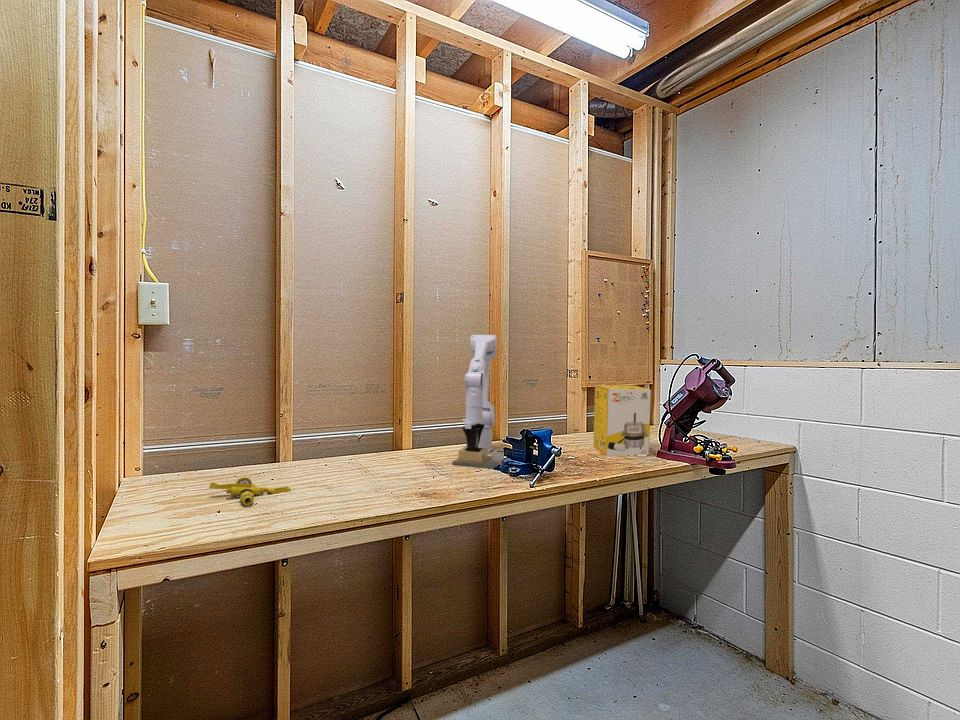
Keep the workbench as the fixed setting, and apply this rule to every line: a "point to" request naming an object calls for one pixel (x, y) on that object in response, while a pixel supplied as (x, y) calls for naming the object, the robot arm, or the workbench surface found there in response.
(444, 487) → the workbench surface
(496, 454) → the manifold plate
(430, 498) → the workbench surface
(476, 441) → the dark grey cylinder
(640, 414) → the packaging box
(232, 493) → the sprinkler
